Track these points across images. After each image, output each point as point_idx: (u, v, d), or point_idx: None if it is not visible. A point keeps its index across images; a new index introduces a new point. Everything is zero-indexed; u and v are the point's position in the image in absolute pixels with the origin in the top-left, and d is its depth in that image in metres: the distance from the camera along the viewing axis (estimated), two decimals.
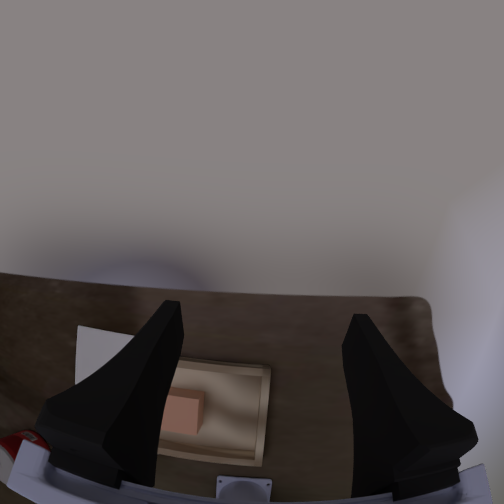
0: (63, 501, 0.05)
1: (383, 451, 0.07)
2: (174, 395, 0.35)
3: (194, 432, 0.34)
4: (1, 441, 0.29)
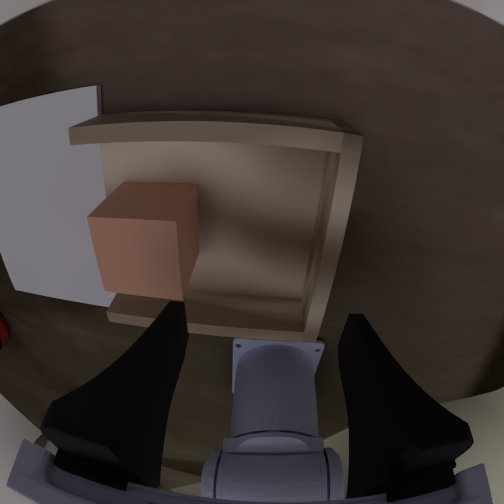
0: (63, 501, 0.05)
1: (377, 452, 0.07)
2: (120, 216, 0.15)
3: (176, 294, 0.17)
4: None
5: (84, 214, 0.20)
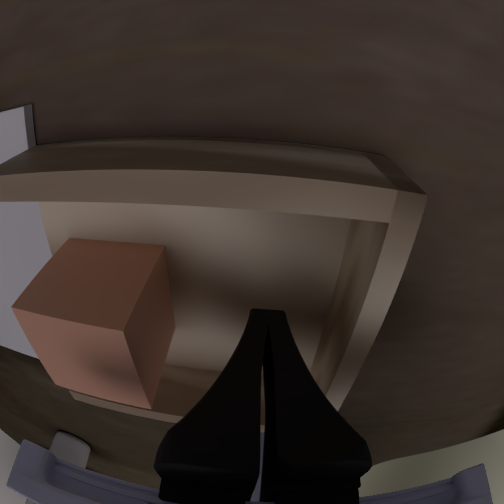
0: (63, 501, 0.05)
1: (269, 456, 0.08)
2: (49, 312, 0.09)
3: (141, 403, 0.11)
4: None
5: (32, 272, 0.15)
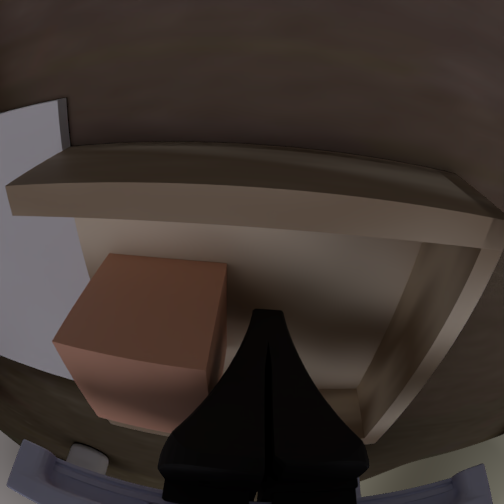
0: (63, 501, 0.05)
1: (266, 456, 0.08)
2: (105, 348, 0.08)
3: None
4: None
5: (61, 290, 0.14)
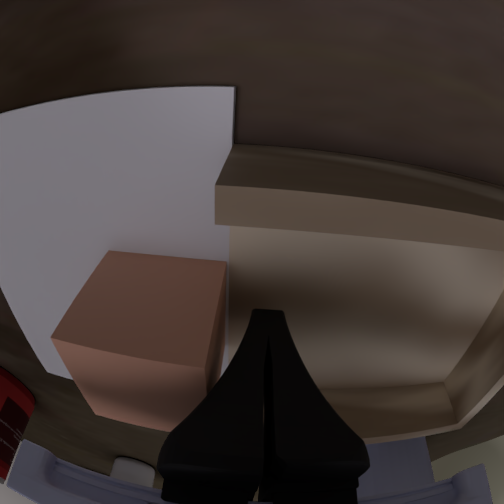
0: (63, 501, 0.05)
1: (267, 456, 0.08)
2: (104, 345, 0.08)
3: None
4: None
5: None
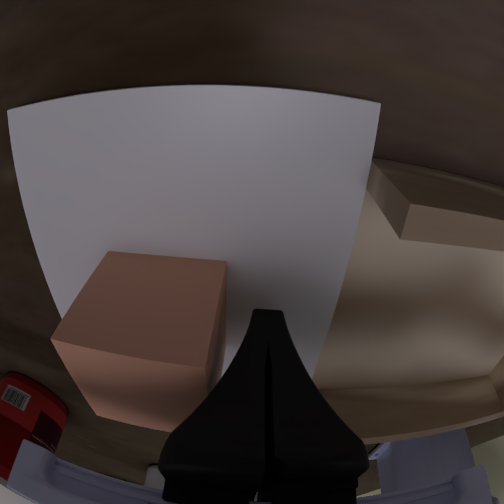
0: (63, 501, 0.05)
1: (266, 456, 0.08)
2: (104, 346, 0.08)
3: None
4: None
5: (285, 314, 0.14)
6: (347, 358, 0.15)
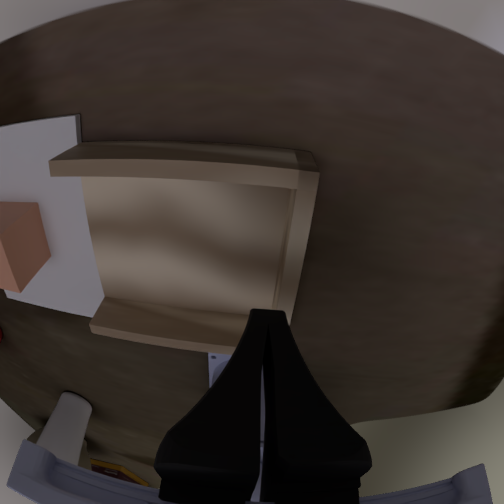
0: (63, 501, 0.05)
1: (268, 456, 0.08)
2: None
3: (15, 288, 0.18)
4: None
5: (68, 233, 0.21)
6: (113, 270, 0.23)
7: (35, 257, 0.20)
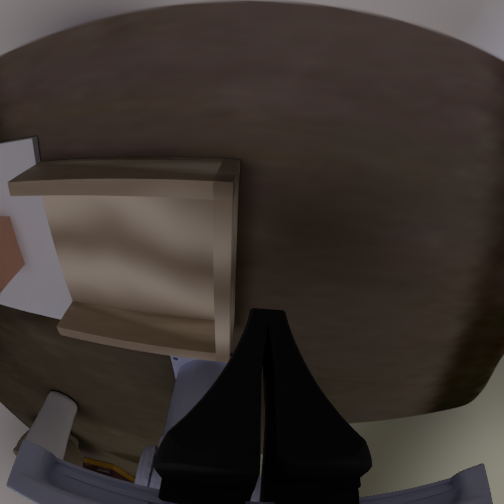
0: (63, 501, 0.05)
1: (269, 456, 0.07)
2: None
3: None
4: None
5: (36, 244, 0.22)
6: (77, 277, 0.24)
7: (9, 266, 0.21)
